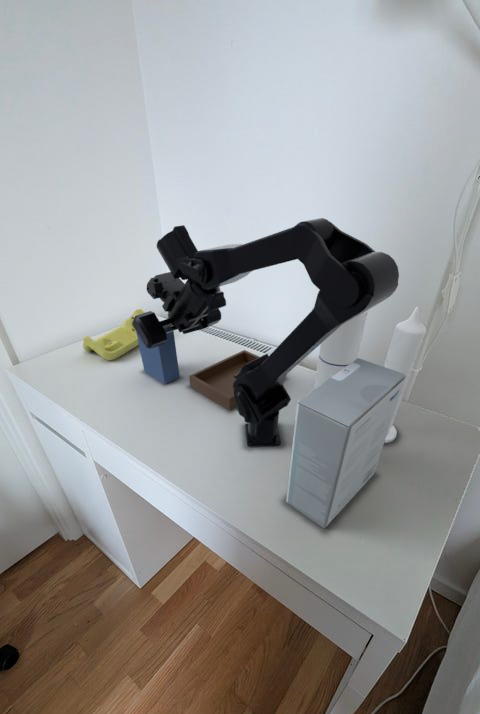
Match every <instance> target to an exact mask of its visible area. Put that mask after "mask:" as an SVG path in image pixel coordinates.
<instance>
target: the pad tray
mask: <svg viewBox="0 0 480 714" xmlns="http://www.w3.org/2000/svg"><path fill="white" fill-rule="evenodd" d="M259 357H260V355H257V354H254V353H253V352H250V351H248V350H246V349H243V350H241V351H239V352H237V353H234V354H233V355H230V356H229V357H226V358H224V359H222V360H219V361H218V362H216V363H213V364H212V365H209V366H207V367H205V368H203V369H201V370H198V371H196V372H194V373H192V374H190V375H188V378H189V379H188V380H189V387H190V388H191V389H193V390H194V391H195V392H198V393H200V394H202V395H203V396H205V397H207V398H208V399H210V400H211V401H213V402H215V404H218V405H220V406H222V407H223V408H224V409H227V410H228V411H231V410H234V409H235V408H237V404H236V400H235V397H234V388H233V383H234V381H235V380H236V379H235V378H234V376H235V375H237V374H239V372H240V371H241V369H242V367H243V366H244V365H245V364H247V363H249V362H251V361H253V360H255V359H257V358H259Z"/></svg>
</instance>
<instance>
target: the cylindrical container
mask: <svg viewBox="0 0 480 714" xmlns="http://www.w3.org/2000/svg"><path fill="white" fill-rule="evenodd" d="M368 314H369V310H367V311H365V312H363V313H362V314H360V315H358V316H356V317H355V318H353V319H351V320H349V321H348V322H346V323H344V324H343V325H341V326H340V327H339V328H338V329H337V330H336V331H335V332H333V333H332V334H331V335H330V336H329V337H328V338H327V339H326V340H324V341H323V342H322V343H321V344H320V345H319V352H318V360H317V365H316V372H315V379H314V385H313V390H314V389H315V388H317V387H318V386H320V385H321V384H322V383H324V382H325V381H327V380H328V379H329V378H331V377H332V376H333V375H335V374H336V373H337V372H339V371H340V370H342V369H343V368H345V367H346V366H347V365H349V364H350V363H352V362H353V361H355V360H356V359H357V358H359V357H358V355H359V352H360V348H361V343H362V340H363V335H364V331H365V326H366V322H367V318H368Z"/></svg>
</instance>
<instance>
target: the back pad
mask: <svg viewBox="0 0 480 714" xmlns="http://www.w3.org/2000/svg"><path fill="white" fill-rule="evenodd" d="M164 329H165V328H164ZM174 331H175V330H174ZM174 331H172V332H169V333H166V334H167V340H166V342H164V344H162V345H160V346H157V347H155V348H151V349H149V348H146V347H145V345H144V343H143V342H142V340H141V338H140V337H139V335H138V333H137V331H136V333H137V338H138V343H139V345H138V347H139V353H140V357H141V362H142V366H143V371H144V373H146V374H147V375H150V376H151V377H153V378H154V379H155V380H157V381H159V382H161V383H162V384H164V385H167V384H169V383H171V382H173V381H176V380H178V379H180V378H181V377H180V370H179V362H178V354H177V346H176V339H175V332H174Z"/></svg>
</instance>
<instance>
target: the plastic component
mask: <svg viewBox="0 0 480 714" xmlns="http://www.w3.org/2000/svg"><path fill="white" fill-rule="evenodd" d="M143 313H146V312H145V311H144V310H143V309H141V308H137V309H135V311H134V312H133V313H132V315H131V316H129V318H126V319H125V320H124V321H123V322H122V323H123V324H122V325H120V326H118V327H116V328H115V329H113V330H111V331H109V332H108V333H106V334H104V335H101V336H100V337H98V338H97V339H92V338H91V337H90V336H88V335H86V336H84V337H83V342H82V343H83V344H82V349H83V350H84V351H86V352H91V351H94V352H95V353H96V354H97V355H98V356H100V357H101V358H102V359H103V360H106V361H115V360H117V359H118V358H119V357H121V356H123V355H125V354H126V353H128V352H129V351H131V350H133V349H134V348H136V347H137V346H139V343H138V338H137V333H136V330H135V328H134V326H133V325H132V322H133V320H134V318H135V316H136V315H139V314H143Z"/></svg>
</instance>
